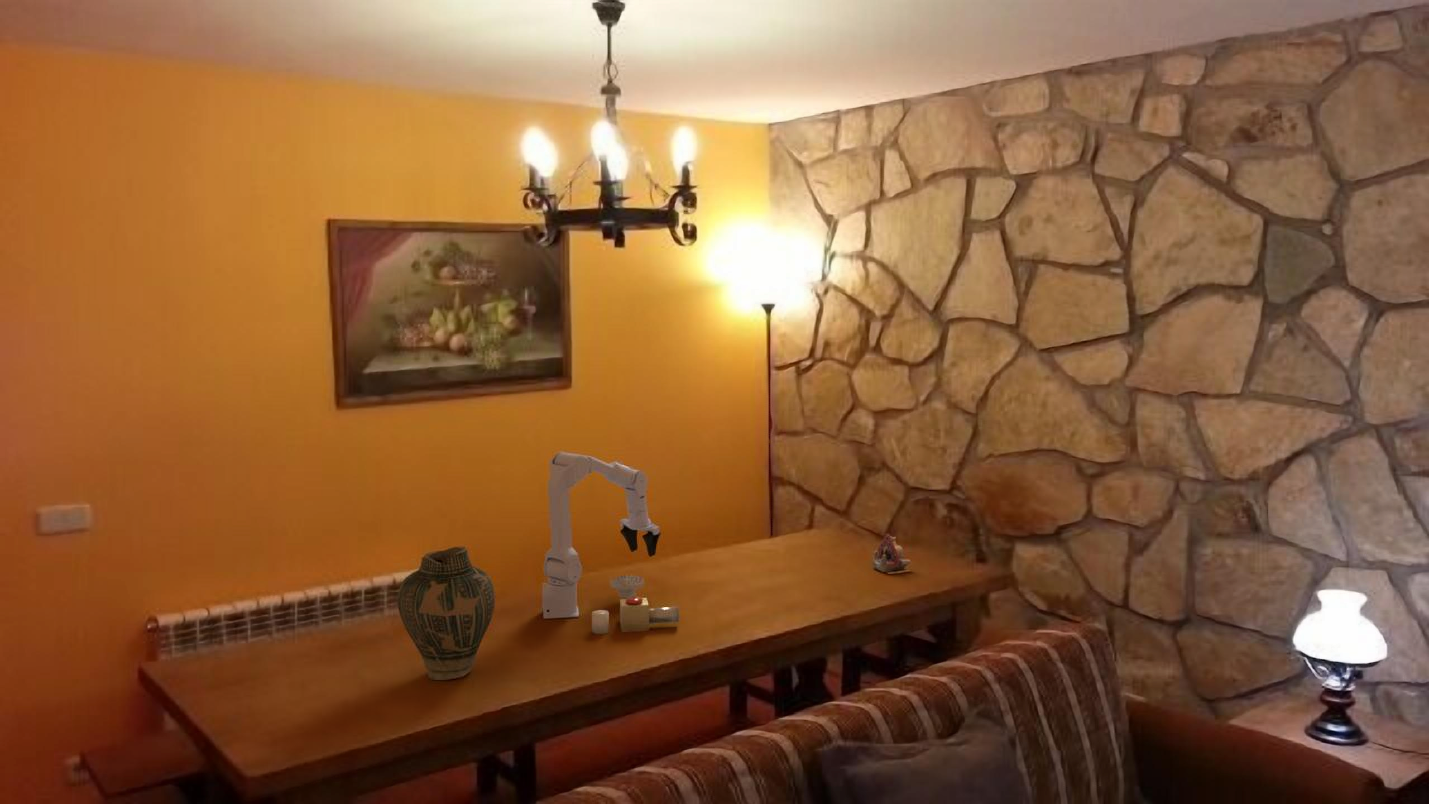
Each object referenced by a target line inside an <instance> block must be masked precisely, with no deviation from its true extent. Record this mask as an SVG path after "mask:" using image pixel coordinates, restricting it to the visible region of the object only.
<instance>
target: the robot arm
mask: <svg viewBox="0 0 1429 804" xmlns="http://www.w3.org/2000/svg"><path fill="white" fill-rule="evenodd" d="M593 472H595V473H597V474H601V475H603V476H604V478H605V480H606V481H608V482H610V483H612V484H615V485H618V486H620V487H621V489H624V493H625V501H626V509H627V515H628V518H623V519H621V520H619V524H620V527H622V529H620V534H621V535H622V537H623V538H624V539H625V541H626V543H627V546H628V548H629V550H630V552H632V553H633V552H635V551H638V545H639V544H638V531H642V532H646V533H645V534H643V535H642V536H641V537H642V539H643V541H644V543H645V546H646V550H647V554H648V557H652V556H655V555H656V553H657V552H656V551H657V545H658V542H659V538H660V536H661V531H660V530H661V529H660V526H658V525H656V524H654V523H652V520H651V519H650V518H649V512H648V503H647V497H646V494H647V486H648V482H649V477H647V475H646V474H645V472H644V471H642V470H638V469H634V467H633V466H631V465H628V466H627V465H624V464H623V461H619V460H616V461H612V462H610V463H607V462H605V461H603V460H599V458H596V457H593V456H590V455H583V454H577V453H569V452H566V451H558V452H557V453H555V455H554V456H553V457H552V458H551V459H550V460H549V478H548V482H547V492H548V494H547V496H548V509H549V525H550V539H551V543H550V544H551V548H550V549H548V551H546V552H545V553H544V556H545V558H544V562H543V568H542V570H543V574H544V576H545V577H547V581H548V582H543V583H542V603H541V610H542V614H543V619H560V618H561V619H564V618H578V617H580V613H579V612H580V611H579V607H578V602H577V601H578V599H577V598H578V596H577V595H578V594H577V592H578V591H577V584H578V583H579V581H580V579H581V578H582V574H583V567H582V564H581V562H580V556H579V554H578V552H577V551H576V550H575V549H574V548H573V538H572V536H573V535H572V523H571V522H572V521H571V505H570V490H571V489H572V488H573V487H575V486H576V485H577V484H579V483H580V482H582V480H584V479H585V478H586V477H587V476H588V475H589V474H592V473H593Z"/></svg>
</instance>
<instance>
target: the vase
mask: <svg viewBox="0 0 1429 804" xmlns="http://www.w3.org/2000/svg"><path fill="white" fill-rule="evenodd" d="M494 589H495V588H494V585H493V582H492V579H491V577H490V576H489V574H488V573H486V572H485V571H484V570H483V569H481V568H478V567H476V566H474V565H473V564H472V561H471V558H470V555H469V552H468V549H467V548H466V547H465V546H454V547H449V548H447V549H444V550H435V551H431V552H427V553H426V554H424V555H423V557H421V562H420V567H419V568H418V570H415V571H414V572H411V573H410V574H408V576H406V577H405V578H404V579H403V581H402V582H401V584H400V587H399V590H398V593H397V594H398V595H397V609H398V612H399V615H400V618H401V621H402V624H403V626H404V627H405V630H406V632H407V634H408V636H409V637H410V640H412V642H413V644H414V645H415V647H416V648H417V650H418V652H419V654H420V655H421V658H422V660H423V663H424V667H425V668H426V670H427V674H428V678H429V680H433V681H446V680H453V679H458V678H463V677H465V676H466V675H467V674H468V673H470V672H472V671H473V670H474V669H473V668H474V664H475V663H476V656H477V653H478V651H479V648H480V645H481V644H482V642H483V638H484V636H485V634H486V632H487V630H488V628H489V626H490V623H491V621H492V619H493V615H494V612H495V604H496V594H495V590H494Z"/></svg>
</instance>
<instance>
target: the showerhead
mask: <svg viewBox="0 0 1429 804" xmlns="http://www.w3.org/2000/svg"><path fill="white" fill-rule="evenodd" d="M609 584H610V587H611V588H612V589H615V590H618V596H619V597H620V598H621V599H626V598H628V597H636V595H637V590H638V589H640V588H643V587H644V585H645V579H644V578H643V577H640V576H639V575H638V576H636V575H630V574H629V575H625V574H624V575H620V576H616V577H614V578H611V579H610V581H609Z"/></svg>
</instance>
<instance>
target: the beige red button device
mask: <svg viewBox="0 0 1429 804" xmlns="http://www.w3.org/2000/svg"><path fill="white" fill-rule="evenodd" d="M679 610H680V609H679V607H678V606H669V607H668V606H667V607H665V606H664V607H650V606H649V601H648V598H647V597H641V596H634V597H628V598H626V599H624V598H621V599H619V616H620V617H619V619H620V620H619V621H620V624H619V625H620V629H621V632H622V633H632V632H633V633H635V632H649V631H650V624H651V625H652V624H653V625H654V624H665V623H666V624H667V623H668V624H669V623H679V622H680V613H679V612H680V611H679Z"/></svg>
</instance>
